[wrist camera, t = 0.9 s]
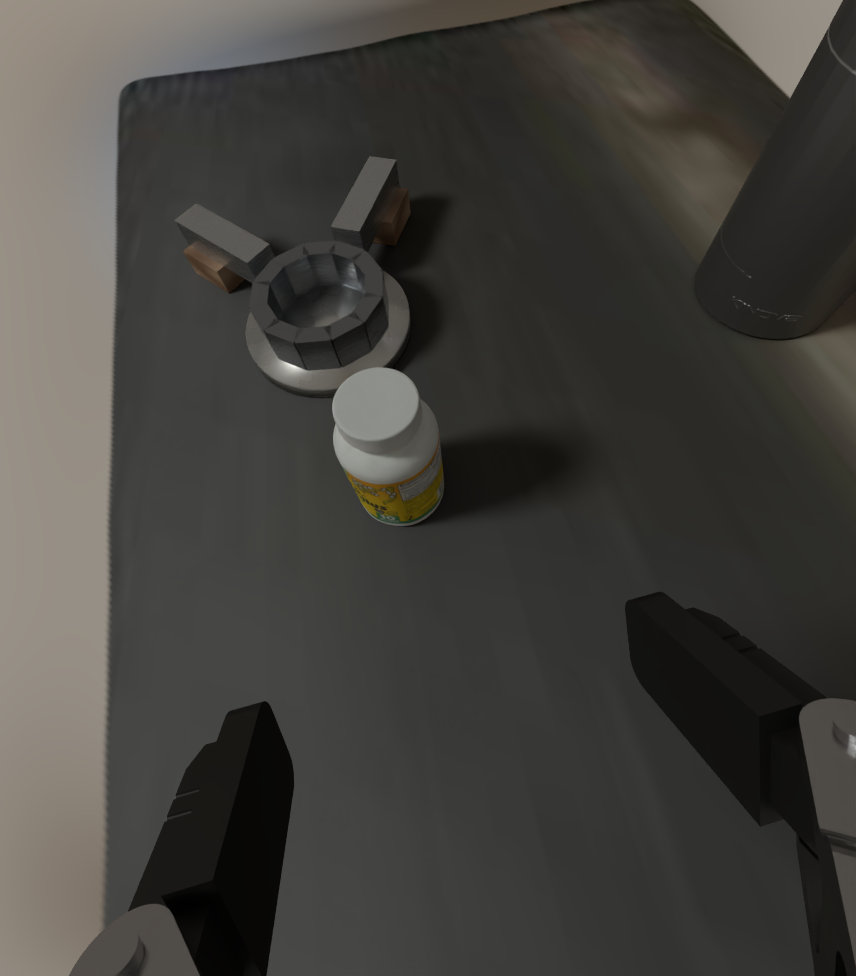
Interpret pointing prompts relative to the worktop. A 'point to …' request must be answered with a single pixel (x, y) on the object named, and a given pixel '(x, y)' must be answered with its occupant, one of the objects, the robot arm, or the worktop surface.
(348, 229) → the angled shafts
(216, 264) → the blocks
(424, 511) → the supplement bottle
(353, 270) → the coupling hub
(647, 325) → the worktop surface
